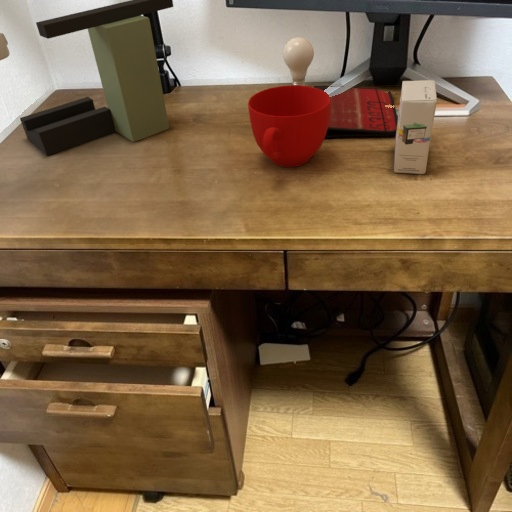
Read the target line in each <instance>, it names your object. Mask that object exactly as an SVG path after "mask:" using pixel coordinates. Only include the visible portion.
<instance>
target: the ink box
mask: <svg viewBox="0 0 512 512" xmlns="http://www.w3.org/2000/svg"><path fill="white" fill-rule="evenodd" d="M436 86H437V85H436V81H435V80H433V79H426V80H425V79H424V80H422V79H421V80H402V84H401V90H400V91H401V92H400V100H399V106H398V114H397V117H398V122H397V131H396V135H395V141H394V155H393V156H394V157H393V173H397V174H415V175H423V174H426V171H427V165H428V158H429V152H430V146H431V139H432V134H433V133H432V132H433V128H434V122H435V116H436V110H437V102H438V100H437V99H438V97H437V96H438V95H437V88H436Z"/></svg>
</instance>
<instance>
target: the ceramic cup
mask: <svg viewBox="0 0 512 512" xmlns="http://www.w3.org/2000/svg"><path fill="white" fill-rule="evenodd" d="M247 108H248V117H249V121H250V126H251V131H252V135H253V137H254V141H255V142H256V144H257V146H258V148H259V149H260V151H261V152H262V153H263V154H264V155H265V156H266V158H268V159H269V160H271V162H272V163H273V164H274V165H277V166H280V167H284V168H285V167H286V168H291V167H292V168H293V167H299V166H302V165H305V164H306V163H308V162H309V161H310V159H311V158H312V157H313V156H314V155H315V154H317V152H318V151H319V149H320V148H321V147H322V145H323V143H324V140H325V138H326V137H325V136H326V133H327V129H328V124H329V118H330V108H331V100H330V97H329V95H328V94H327V93H326V92H324V91H322V90H320V89H317V88H314V87H313V86H308V85H305V86H298V85H293V84H292V85H280V86H273V87H269V88H265V89H263V90H261V91H258V92H256V93H254V94H253V95H252V96H251V97H250V98H249V99H248V101H247Z"/></svg>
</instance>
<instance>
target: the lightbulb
mask: <svg viewBox="0 0 512 512" xmlns="http://www.w3.org/2000/svg"><path fill="white" fill-rule="evenodd" d="M314 56H315V51H314V46H313V44H312V43H311V42H310V40H308V39H307V38H306V37H302V36H296V37H293V38H290V39H289V40H288V41H287V42H286V43H285V45H284V47H283V50H282V57H283V61H284V63H285V66H286V67H287V68H288V69H289V72H290V75H291V79H292V85H298V86H306V76H307V72H308V69H309V67H310V66H311V64H312V62H313V60H314Z"/></svg>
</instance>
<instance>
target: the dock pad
mask: <svg viewBox="0 0 512 512" xmlns="http://www.w3.org/2000/svg"><path fill="white" fill-rule="evenodd" d="M19 120H20V122H21V125H22V128H23V131H24V133H25V136H26V138H27V140H28V141H29V142H30V143H31V144H32V145H34V147H36V148H37V149H38V150H40V152H42V153H43V154H44V155H45V156H47V157H48V156H51V155H54V154H56V153H57V154H58V153H60V152H62V151H65V150H68V149H71V148H74V147H76V146H80V145H82V144H85V143H87V142H90V141H93V140H97V139H99V138H101V137H105V136H107V135H111V134H113V133H115V132H116V130H115V126H114V122H113V119H112V115H111V111H110V109H109V108H108V106H102V107H99V108H96V107H95V103H94V99H93V98H91V97H90V96H85V97H83V98H79V99H76V100H73V101H70V102H67V103H63V104H60V105H56V106H54V107H51V108H47V109H44V110H40V111H38V112H34V113H31V114H28V115H24V116H21V117H19Z"/></svg>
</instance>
